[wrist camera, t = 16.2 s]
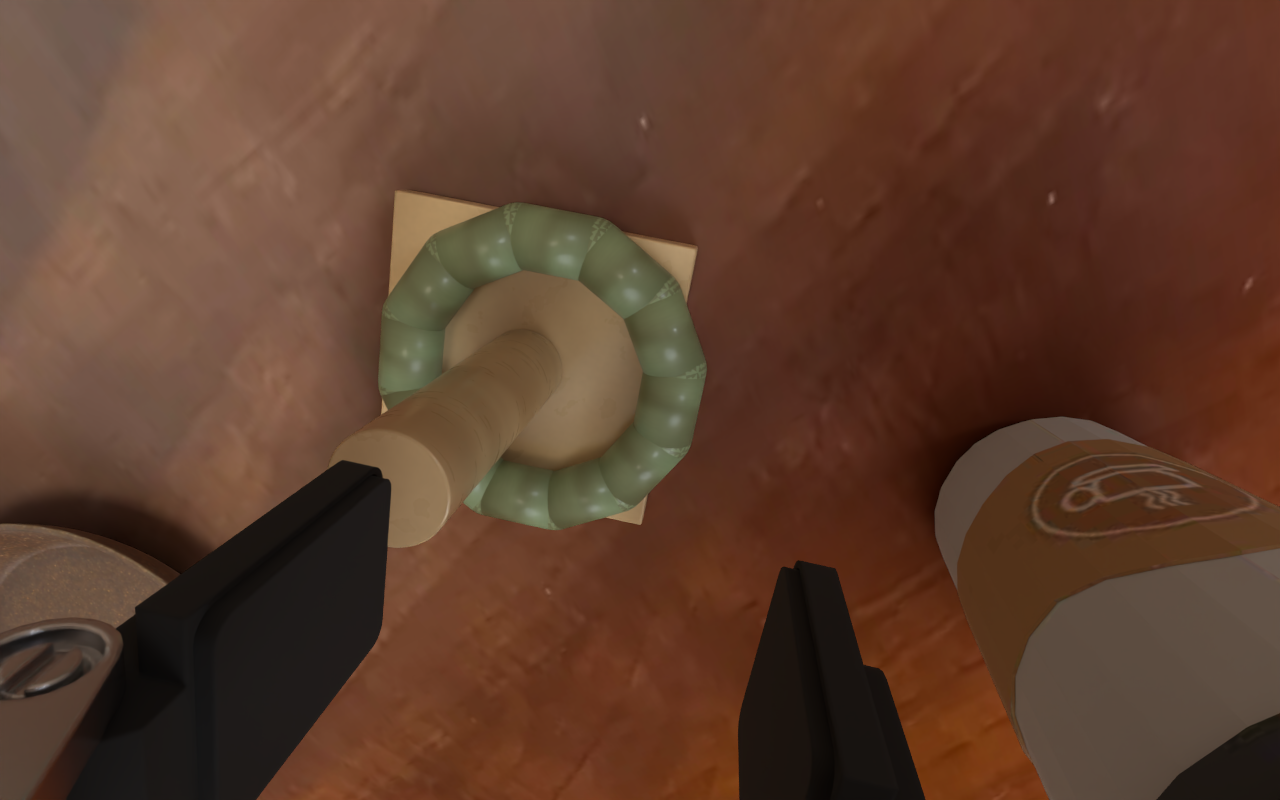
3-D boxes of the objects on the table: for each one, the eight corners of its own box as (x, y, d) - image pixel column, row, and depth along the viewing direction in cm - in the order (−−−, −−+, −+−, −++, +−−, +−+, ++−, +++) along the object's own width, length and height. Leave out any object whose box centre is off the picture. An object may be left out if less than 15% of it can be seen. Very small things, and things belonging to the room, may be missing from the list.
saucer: (277, 512, 25) (225, 550, 22) (316, 821, 29) (277, 882, 27) (-82, 475, 26) (-169, 506, 24) (8, 774, 31) (-57, 828, 28)
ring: (734, 240, 19) (734, 245, 18) (670, 537, 22) (665, 566, 21) (407, 178, 20) (376, 177, 18) (388, 476, 23) (361, 499, 21)
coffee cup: (1171, 348, 20) (2343, 776, 5) (1190, 596, 22) (2066, 1372, 8) (874, 413, 21) (1175, 875, 7) (920, 639, 23) (1220, 1343, 9)
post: (698, 245, 20) (673, 299, 11) (644, 512, 23) (588, 738, 14) (409, 189, 21) (145, 193, 11) (390, 456, 24) (167, 637, 14)
